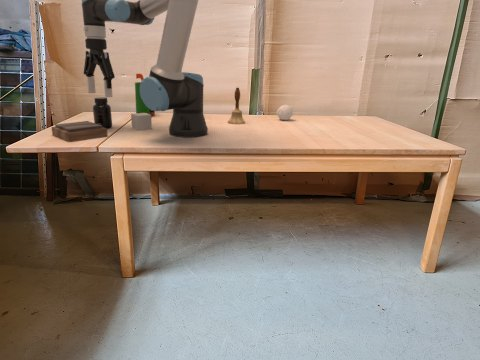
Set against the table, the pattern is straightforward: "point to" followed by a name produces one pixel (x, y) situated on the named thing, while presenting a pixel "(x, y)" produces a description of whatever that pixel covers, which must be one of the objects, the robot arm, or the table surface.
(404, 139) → the table surface
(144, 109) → the green spray bottle
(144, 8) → the robot arm
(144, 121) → the grey cube
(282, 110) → the whitish grey ball
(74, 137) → the walnut plinth
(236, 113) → the hand bell
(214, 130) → the table surface
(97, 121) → the supplement bottle
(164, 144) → the table surface
